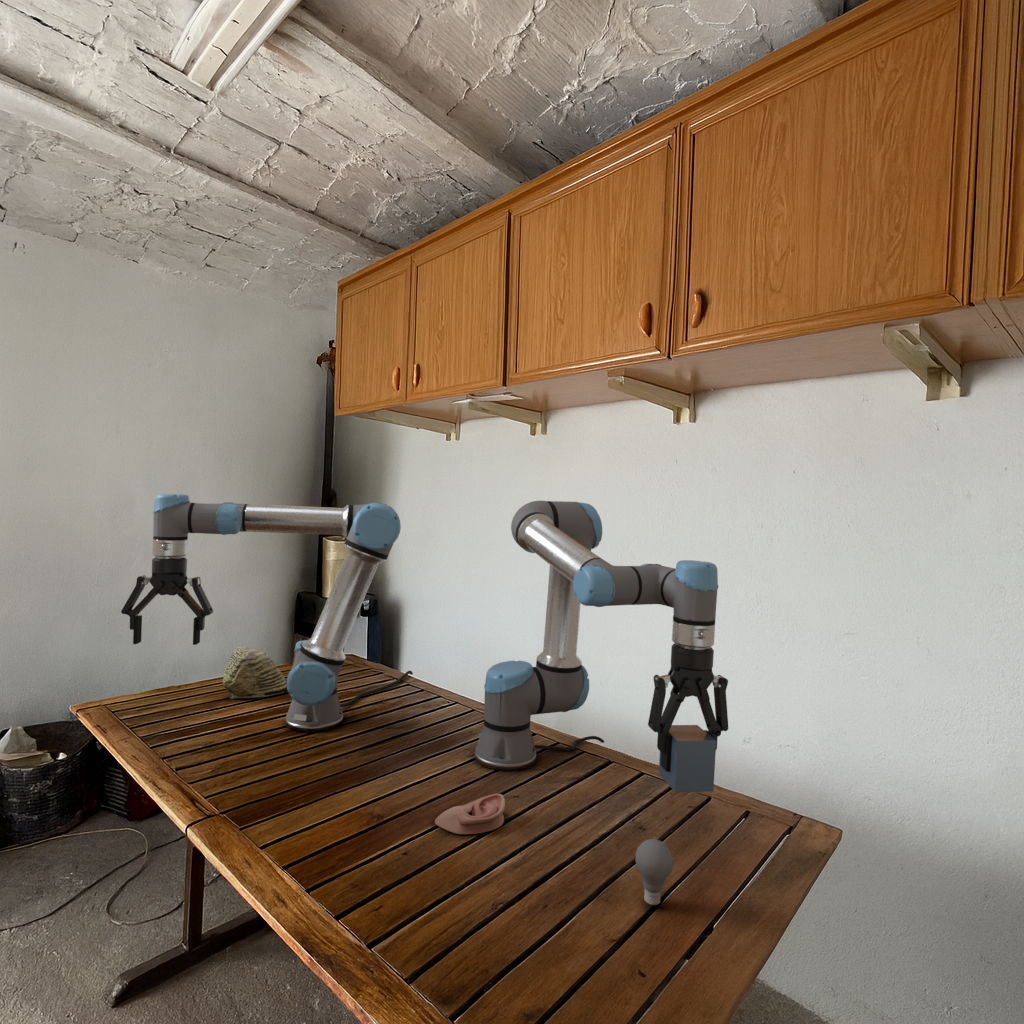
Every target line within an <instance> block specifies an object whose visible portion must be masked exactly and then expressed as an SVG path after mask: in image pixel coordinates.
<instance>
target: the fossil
mask: <svg viewBox="0 0 1024 1024" xmlns="http://www.w3.org/2000/svg"><path fill="white" fill-rule="evenodd" d="M222 676H223V677H222V685H223V687H224V688H225V690H226V691H228V693H229V698H230V699H250V698H264V697H271V696H275V695H281V694H284V693H285V691H286V689H287V679H286V678H285V676H284V674H283V673H282V672H281V669H279V668H278V667H277V665H276V663H275V662H274V660H273V659H272V658H271V657H270V656H269V655H268V654H267V653H266V652H265V650H264V649H263V648H260V647H258V648H251V647H247V646H246V647H245V646H238V647H237V648H236V649H235V650H233V651H232V653H231V656H230V657H229V659H228V660H227V663H226V666H225V668H224V671H223V675H222Z"/></svg>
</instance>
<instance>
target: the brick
mask: <svg viewBox="0 0 1024 1024" xmlns="http://www.w3.org/2000/svg"><path fill="white" fill-rule="evenodd" d="M704 730H705V729H703V728H702V727H701V726H699V725H698V724H672V725H671V728H670V730H669V732H668V733H669V734H670V735H671V736H672V747H671V766H670V772H666V771H665V770H664V769H663V767H662V766H661V752H660V751H659V758H658V759H659V760H658V761H659V762H658V774H659V776H660V777H661V778H662V779H663V780H664V781H665V783H666V784H667V785H668V786H669V787H670V789H672V791H673V792H674V793H705V792H714V789H715V788H714V787H715V772H716V771H715V768H716V753H717V749H716V740H715V739H714V738H713V737H711V736H710V735H709V734H708V733H706V732H705V731H704Z"/></svg>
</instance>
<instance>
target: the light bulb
mask: <svg viewBox="0 0 1024 1024" xmlns="http://www.w3.org/2000/svg"><path fill="white" fill-rule="evenodd" d="M634 855H635V865H636V868H637V871H638V872H639V874H640V876H641V879H642V885H643V887H644V894H643V895H644V896H643V900H644V901H645V903H647V904H649V905H652V906H656V905H660V904H661V895H662V890H663V889H664V885H665V882H666V880H667V879H668V877H669V876H670V875H671V873H672V871H673V868H674V857H673V854H672V851H671V850H670V848H669V847H668V846H667V845H666V843H664V842H663V841H661V840H660V839H656V838H650V839H645V840H644V841H642V842H641V843H640V844H639V846H638V847H637V849H636V851H635V854H634Z"/></svg>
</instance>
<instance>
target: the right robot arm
mask: <svg viewBox="0 0 1024 1024" xmlns="http://www.w3.org/2000/svg"><path fill="white" fill-rule="evenodd" d="M601 519H602V518H601V517H600V514H599V513H598V511H597V509H596V508H595V507H594V505H591V504H590V503H586V502H579V501H563V500H561V501H560V500H559V501H558V500H534V501H530V502H527V503H525V504H524V505H522V506H521V507H519V508H518V509H517V511H516V512H515V513H514V515H513V517H512V519H511V525H510V526H511V527H510V529H511V530H510V531H511V536H512V538H513V540H514V541H515V543H516V544H517V545H518V546H519V547H520V548H521V549H522V550H524V551H526V552H527V553H529V554H536V555H537V556H538V557H539V558H541V559H542V560H543V561H544V562H545V563H547V564H548V565H549V571H548V572H549V573H548V582H547V583H548V584H547V585H548V586H547V596H546V598H547V599H546V610H545V620H544V621H545V623H544V636H543V647H542V648H543V649H542V652H540V653H539V654H538V655H537V656H536V663H535V666H533V665H532V664H531V663H530V662H528V661H525V660H507V661H501V662H498V663H496V664H494V665H492V666H491V667H489V668H488V669H487V671H486V675H485V683H484V687H483V689H484V702H483V703H484V705H483V727H482V730H481V731H480V732H478V742H477V743H476V746H475V748H474V759H475V761H476V762H477V763H478V764H479V765H481V766H483V767H485V768H488V769H491V770H496V771H497V770H498V771H520V770H524V769H527V768H529V767H531V766H533V765H534V764H535V763H536V760H537V749H540V750H552V751H561V752H572V751H575V750H576V749H577V747H578V746H577V745H578V744H580V743H582V742H585V741H589V740H597V741H598V742H600V743H605V740H604V739H603V738H601V737H599V736H597V735H588V736H585V737H581V738H578V739H576V740H574V741H573V745H572V746H571V747H561V746H553V745H543V744H535V742H534V738H533V735H532V731H531V719H532V718H531V717H532V716H533V715H535V716H536V715H544V714H552V713H554V714H555V713H567V712H569V711H575V710H578V709H580V708H581V707H582V706H583V705H585V702H586V701H587V700H588V695H589V693H590V679H589V674H588V670H587V668H586V667H585V666H584V665H583V663H582V662H583V661H582V659H581V658H580V657H579V656H578V654H577V651H578V643H579V642H578V641H579V629H580V617H581V616H580V615H581V606H585V607H596V608H603V607H612V606H613V607H615V606H640V605H641V606H643V605H644V606H645V605H661V606H666V607H669V608H673V615H672V631H671V632H672V633H671V641H672V642H673V644H672V645H671V647H670V648H671V651H670V669H669V671H668V672H667V674H663V675H659V674H655V675H654V676H653V678H652V679H653V685H654V689H653V695H652V700H651V706H650V712H649V716H648V722H647V726H648V727H649V728H650V729H651V730H652V731H653V732H654V733H657V738H656V739H657V741H656V743H657V744H656V747H657V750H658V751H659V753H660V752H661V766H662V767H663V769H664V770H665V771H666V772H670V766H671V747H672V736H671V735H670V734H669V733H668V732H669V730H670V728H671V725H673V723H674V721H675V718H676V716H677V714H678V712H679V709H680V707H681V704H682V703H683V702H685V699H686V698H688V697H689V698H690V697H696V698H697V700H698V704H699V707H700V710H701V713H702V716H703V720H704V722H705V725H706V729H703V730H704V731H705V732H706V733H708V734H709V735H710V736H711V737H713V738H714V739H715V740H716V750H717V749H718V739H719V737H721V735H722V732H727V731H729V717H728V716H729V715H728V703H727V701H728V700H727V688H728V684H729V679H727V678H726V677H725V676H723V675H721V674H716V675H715V674H714V672H713V668H714V658H715V657H714V652H715V650H714V649H713V646H715V638H716V637H715V633H716V617H717V602H718V601H717V599H718V590H719V580H718V579H719V578H718V577H719V574H718V573H719V572H718V566H717V565H716V564H715V563H713V562H709V561H703V560H702V561H701V560H691V559H684V560H679V561H677V562H676V564H675V567H670V566H666V565H662V564H660V563H642V564H641V565H613V564H611V563H609V562H608V561H607V560H604V559H603V558H602V557H600V556H599V555H597V554H596V553H594V552H593V551H592V550H593V549H596V548H597V547H599V545H600V543H601V541H602V539H603V523H602V520H601ZM669 683H671V685H672V688H671V690H670V693H669V694H670V695H669V698H668V700H667V702H666V705H665V700H666V693H667V688H668V687H669ZM711 684H712V686H713V698H714V700H713V701H714V710H713V708H712V704H711V701H710V699H711V698H710V695H709V691H708V689H709V687H710V686H711ZM664 706H665V708H664Z"/></svg>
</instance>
